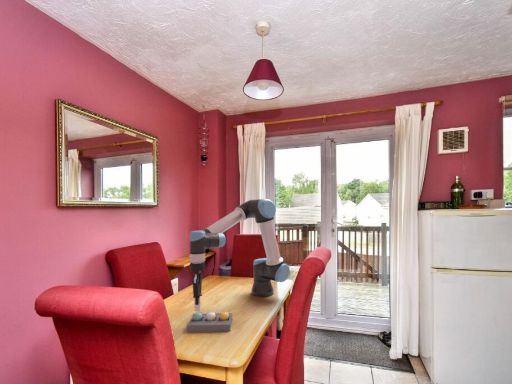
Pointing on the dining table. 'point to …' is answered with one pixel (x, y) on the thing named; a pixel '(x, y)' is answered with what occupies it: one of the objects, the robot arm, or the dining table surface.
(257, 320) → the dining table surface
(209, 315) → the button white
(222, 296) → the dining table surface
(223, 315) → the button ochre
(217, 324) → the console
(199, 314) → the button teal
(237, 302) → the dining table surface
